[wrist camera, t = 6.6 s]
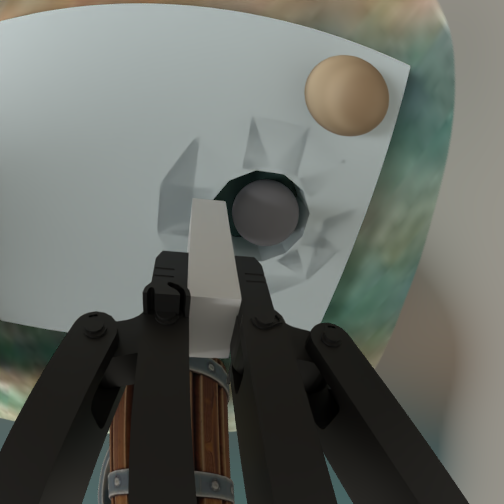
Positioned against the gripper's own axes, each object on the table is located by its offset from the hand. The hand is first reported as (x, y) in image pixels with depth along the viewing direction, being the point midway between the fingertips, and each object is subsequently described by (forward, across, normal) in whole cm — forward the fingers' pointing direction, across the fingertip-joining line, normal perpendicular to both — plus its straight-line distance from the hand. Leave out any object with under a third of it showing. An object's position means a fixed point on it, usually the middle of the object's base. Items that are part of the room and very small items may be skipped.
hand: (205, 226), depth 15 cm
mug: (+4, -3, -19) cm, 20 cm away
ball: (+2, +3, 0) cm, 4 cm away
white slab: (+4, -3, 0) cm, 5 cm away
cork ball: (0, +5, +7) cm, 9 cm away
